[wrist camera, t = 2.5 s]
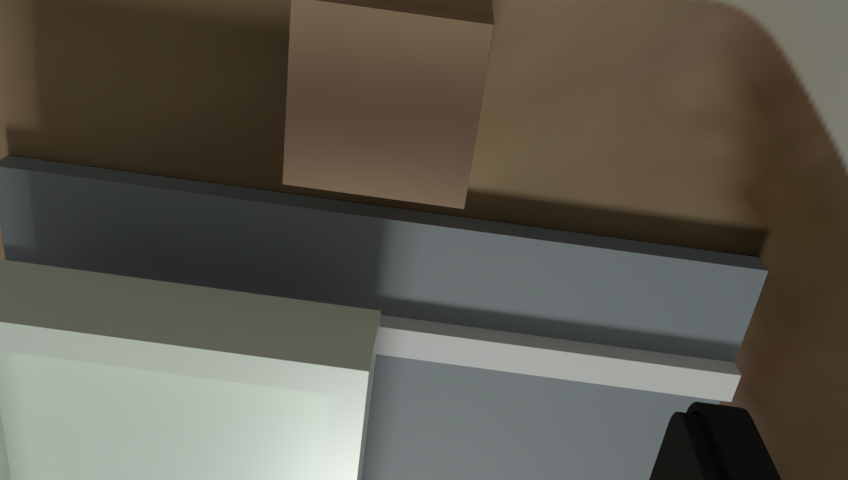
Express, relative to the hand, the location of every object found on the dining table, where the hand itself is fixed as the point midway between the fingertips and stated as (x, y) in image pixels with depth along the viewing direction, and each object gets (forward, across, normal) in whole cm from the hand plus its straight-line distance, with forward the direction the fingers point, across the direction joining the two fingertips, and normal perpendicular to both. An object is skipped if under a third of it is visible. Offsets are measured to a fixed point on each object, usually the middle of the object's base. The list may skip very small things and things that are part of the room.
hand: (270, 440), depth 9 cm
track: (+18, 0, +15) cm, 24 cm away
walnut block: (+18, 0, 0) cm, 19 cm away
